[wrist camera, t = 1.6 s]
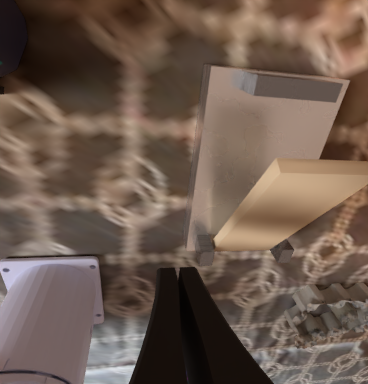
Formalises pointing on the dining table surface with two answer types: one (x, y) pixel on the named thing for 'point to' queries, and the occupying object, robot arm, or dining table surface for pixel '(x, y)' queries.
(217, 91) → the block
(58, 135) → the dining table surface
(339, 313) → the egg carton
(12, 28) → the speaker
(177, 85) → the dining table surface
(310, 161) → the latch bar
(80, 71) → the dining table surface
